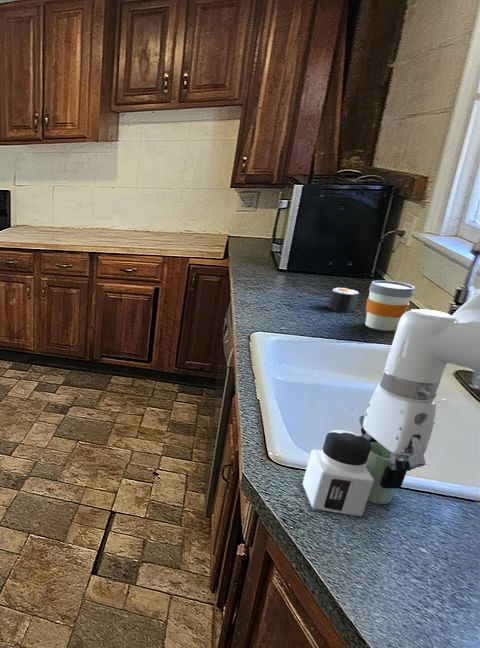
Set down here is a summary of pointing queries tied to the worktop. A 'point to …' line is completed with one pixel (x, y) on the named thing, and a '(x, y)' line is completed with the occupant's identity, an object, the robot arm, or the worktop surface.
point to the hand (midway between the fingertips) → (377, 475)
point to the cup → (379, 473)
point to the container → (339, 474)
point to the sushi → (343, 299)
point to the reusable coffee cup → (387, 304)
